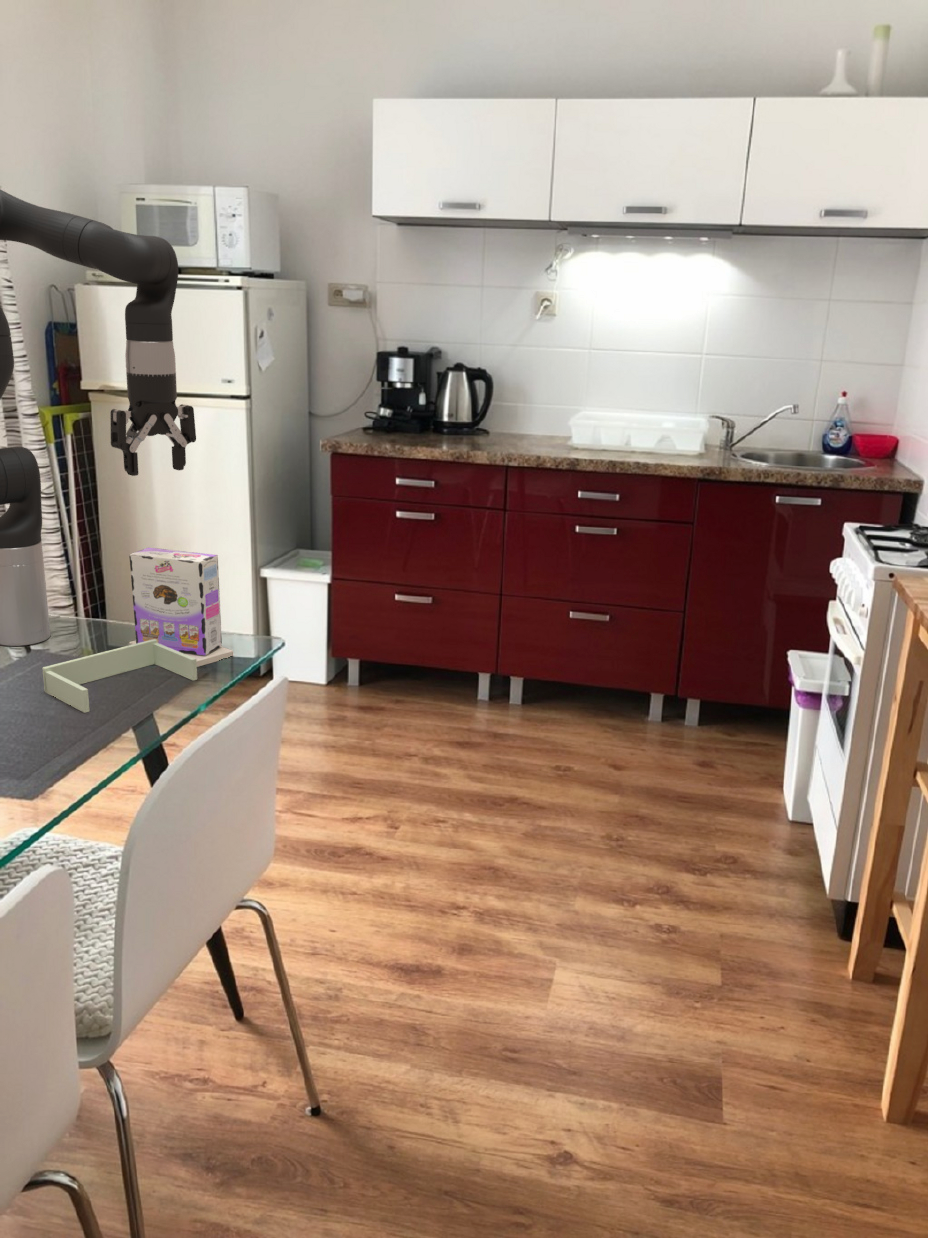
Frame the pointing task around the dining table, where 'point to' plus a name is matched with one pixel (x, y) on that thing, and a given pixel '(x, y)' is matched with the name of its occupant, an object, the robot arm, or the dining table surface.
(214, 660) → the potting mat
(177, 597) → the candy box
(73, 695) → the green u-shaped frame
